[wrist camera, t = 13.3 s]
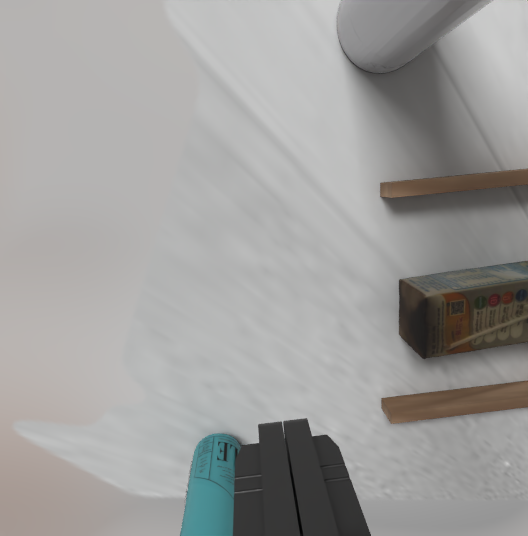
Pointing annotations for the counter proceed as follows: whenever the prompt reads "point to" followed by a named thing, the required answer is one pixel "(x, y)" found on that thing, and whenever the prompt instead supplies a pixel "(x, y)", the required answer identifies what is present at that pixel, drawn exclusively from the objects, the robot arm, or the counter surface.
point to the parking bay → (463, 398)
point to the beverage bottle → (211, 488)
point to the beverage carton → (465, 309)
